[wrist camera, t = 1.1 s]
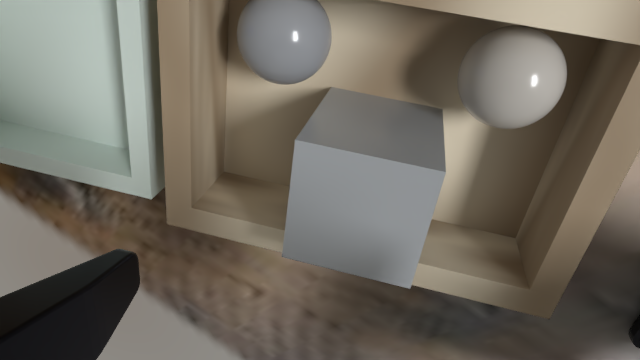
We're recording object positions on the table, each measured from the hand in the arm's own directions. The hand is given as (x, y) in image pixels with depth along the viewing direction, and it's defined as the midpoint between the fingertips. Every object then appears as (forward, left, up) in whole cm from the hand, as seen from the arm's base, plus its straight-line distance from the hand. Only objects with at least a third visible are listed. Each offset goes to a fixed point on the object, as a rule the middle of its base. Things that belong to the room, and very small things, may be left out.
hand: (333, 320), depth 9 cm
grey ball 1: (+4, -4, -9) cm, 10 cm away
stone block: (0, 0, -9) cm, 9 cm away
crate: (0, -2, -9) cm, 10 cm away
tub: (+13, -2, -9) cm, 16 cm away
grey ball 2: (-3, -4, -9) cm, 10 cm away
